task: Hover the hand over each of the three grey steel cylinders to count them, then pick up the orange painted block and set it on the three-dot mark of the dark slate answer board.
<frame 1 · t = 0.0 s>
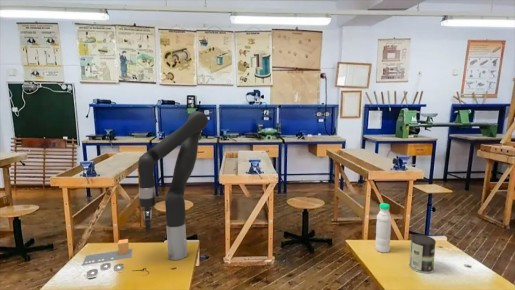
hand: (147, 227, 152), 17 cm above the workbench, tool pointing down, fingers open, 8 cm apart
answer board: (108, 258, 156), on the workbench
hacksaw: (148, 262, 153), on the workbench
steel cylinder c: (92, 276, 141), on the workbench
steel cylinder b: (106, 270, 146), on the workbench
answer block: (123, 252, 160), point 1 cm above the workbench, touching answer board
water bottle: (382, 250, 163), on the workbench
steel cylinder a: (119, 271, 145), on the workbench
coffee can: (420, 267, 145), on the workbench
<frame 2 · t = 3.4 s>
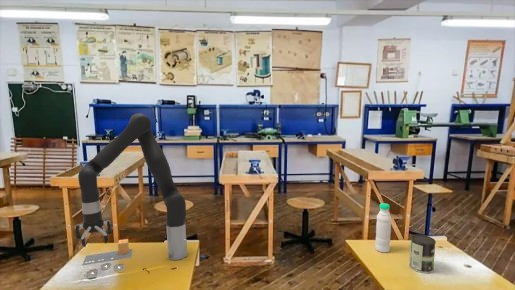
hand: (95, 244, 141), 14 cm above the workbench, tool pointing down, fingers open, 8 cm apart
nothing on the workbench moved.
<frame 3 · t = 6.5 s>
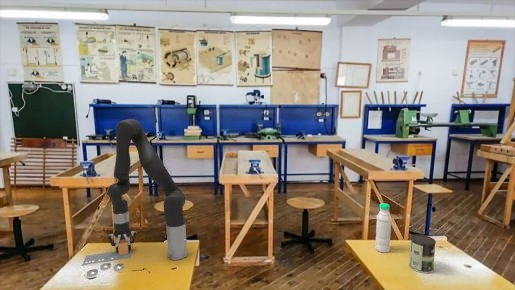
hand: (123, 251, 160), 2 cm above the workbench, tool pointing down, fingers closed on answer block, 4 cm apart
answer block: (123, 252, 160), point 1 cm above the workbench, touching answer board, gripper
everything else where it was.
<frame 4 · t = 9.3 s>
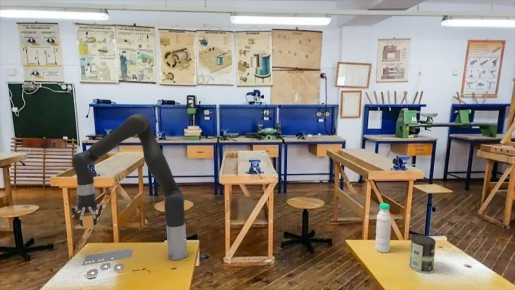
hand: (88, 225, 153), 18 cm above the workbench, tool pointing down, fingers closed on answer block, 4 cm apart
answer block: (89, 226, 153), point 18 cm above the workbench, touching gripper
everything else where it was.
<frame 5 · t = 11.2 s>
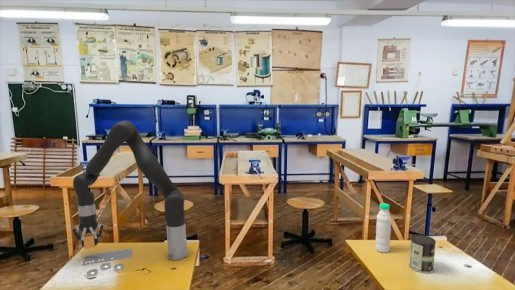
hand: (90, 245, 155), 8 cm above the workbench, tool pointing down, fingers closed on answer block, 4 cm apart
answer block: (90, 246, 155), point 7 cm above the workbench, touching gripper
when the fingers open (3 cm above the workbench, at t = 12.6 s): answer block drops 1 cm, resting on answer board.
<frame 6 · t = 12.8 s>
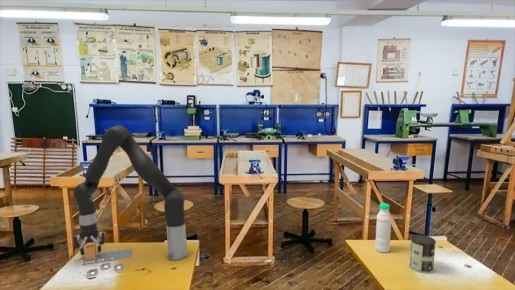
hand: (91, 253, 155), 3 cm above the workbench, tool pointing down, fingers open, 6 cm apart
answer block: (91, 257, 155), point 1 cm above the workbench, touching answer board
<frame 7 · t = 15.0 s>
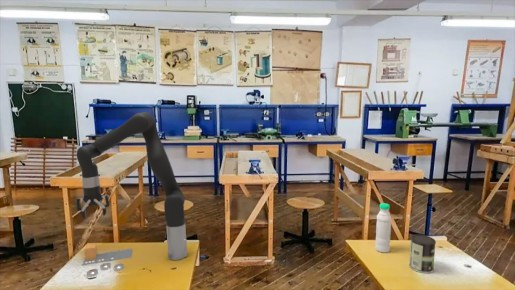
hand: (94, 216, 155), 22 cm above the workbench, tool pointing down, fingers open, 8 cm apart
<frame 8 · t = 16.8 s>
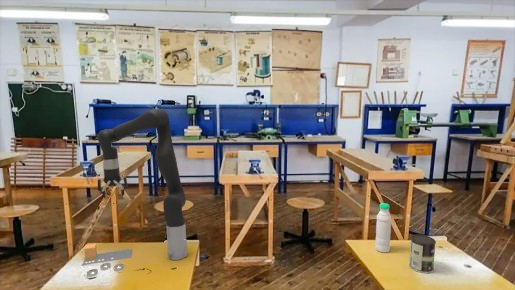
hand: (113, 196, 165), 28 cm above the workbench, tool pointing down, fingers open, 8 cm apart
at the end: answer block 0.2 cm from the target spot on the answer board, point 1.2 cm above the answer board's base; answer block tilted 0°; the gripper is holding nothing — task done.
